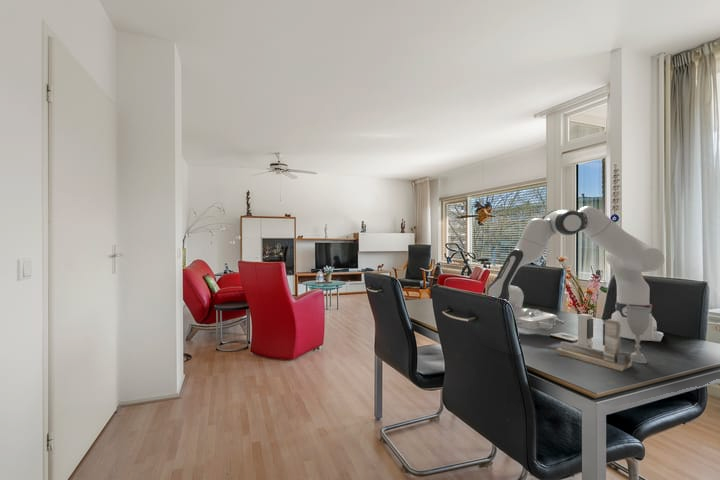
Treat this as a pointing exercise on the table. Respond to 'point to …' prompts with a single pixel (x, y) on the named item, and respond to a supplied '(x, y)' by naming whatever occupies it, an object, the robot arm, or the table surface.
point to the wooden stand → (604, 358)
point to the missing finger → (585, 330)
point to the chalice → (638, 328)
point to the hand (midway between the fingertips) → (557, 324)
